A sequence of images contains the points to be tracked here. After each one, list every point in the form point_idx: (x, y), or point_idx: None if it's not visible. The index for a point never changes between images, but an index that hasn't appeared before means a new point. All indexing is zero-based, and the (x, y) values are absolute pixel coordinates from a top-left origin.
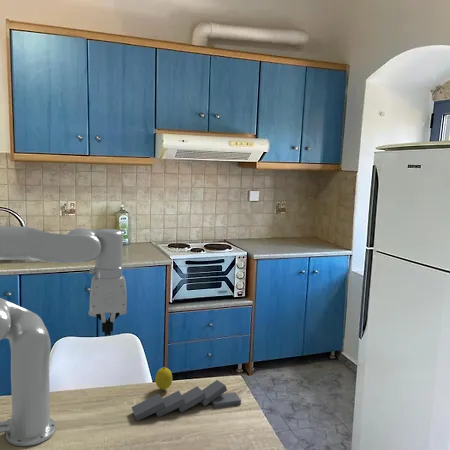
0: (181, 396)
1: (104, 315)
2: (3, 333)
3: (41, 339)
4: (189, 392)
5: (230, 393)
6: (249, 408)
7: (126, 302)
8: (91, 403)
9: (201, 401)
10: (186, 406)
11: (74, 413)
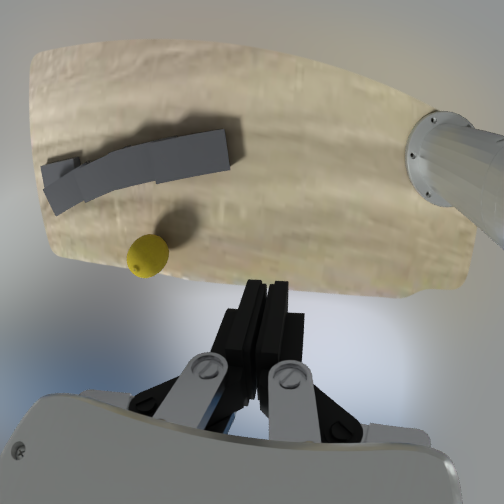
0: (112, 163)
1: (278, 423)
2: None
3: None
4: (101, 188)
5: None
6: (38, 150)
7: (2, 453)
8: (321, 231)
9: None
10: None
11: (362, 201)
